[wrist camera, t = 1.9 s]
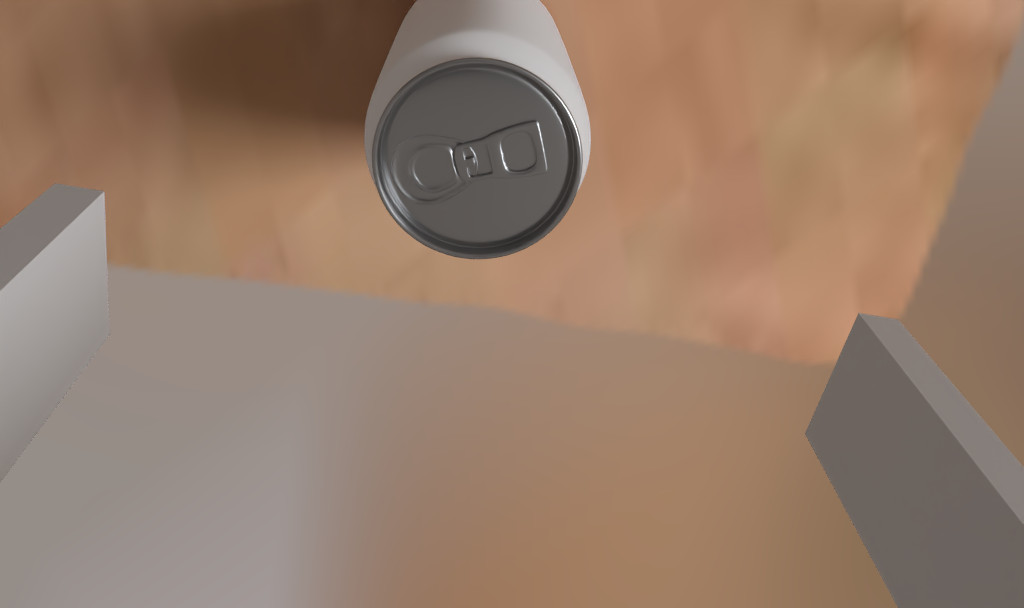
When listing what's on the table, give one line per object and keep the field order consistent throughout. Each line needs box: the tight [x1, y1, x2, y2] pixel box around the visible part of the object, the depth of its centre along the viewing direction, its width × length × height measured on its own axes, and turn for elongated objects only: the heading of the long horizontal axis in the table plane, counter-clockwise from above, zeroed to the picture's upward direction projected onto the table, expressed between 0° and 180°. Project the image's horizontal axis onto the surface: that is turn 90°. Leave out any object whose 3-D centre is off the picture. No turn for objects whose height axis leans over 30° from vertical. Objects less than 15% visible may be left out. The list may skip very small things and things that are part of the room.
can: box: [364, 0, 591, 259], centre depth 28 cm, size 6×6×12 cm
